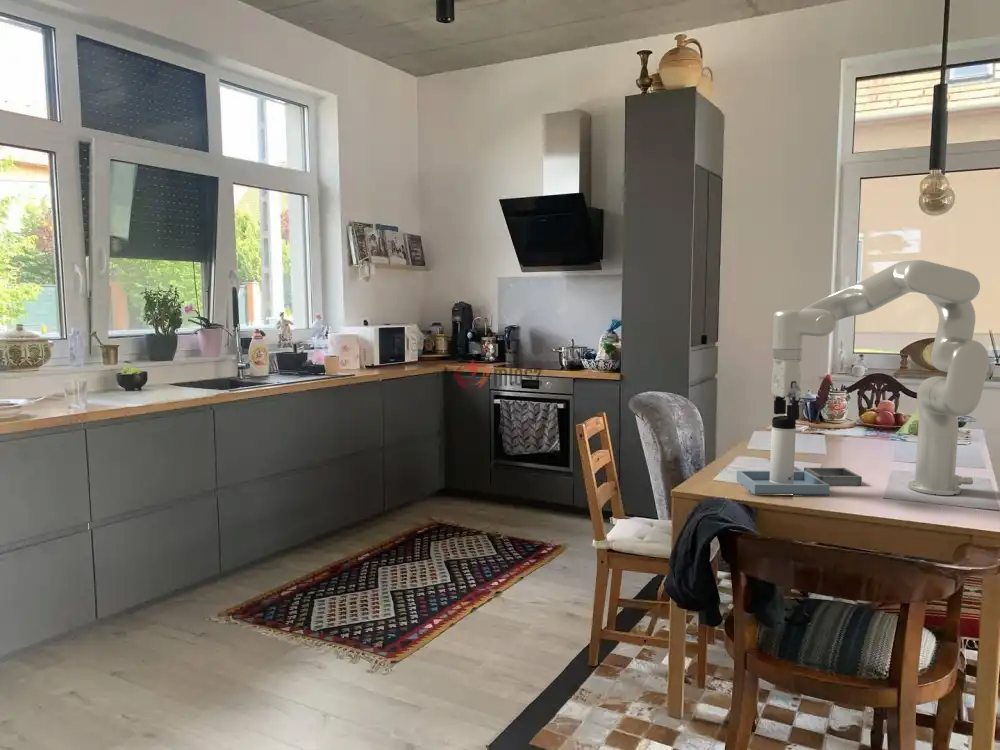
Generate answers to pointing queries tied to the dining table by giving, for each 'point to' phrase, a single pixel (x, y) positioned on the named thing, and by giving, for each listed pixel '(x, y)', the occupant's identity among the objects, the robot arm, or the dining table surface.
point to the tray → (801, 484)
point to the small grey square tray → (835, 476)
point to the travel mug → (782, 450)
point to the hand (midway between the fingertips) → (786, 416)
